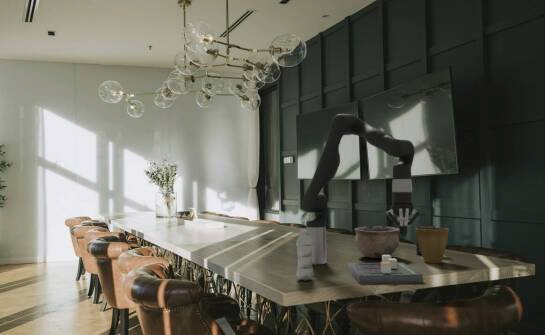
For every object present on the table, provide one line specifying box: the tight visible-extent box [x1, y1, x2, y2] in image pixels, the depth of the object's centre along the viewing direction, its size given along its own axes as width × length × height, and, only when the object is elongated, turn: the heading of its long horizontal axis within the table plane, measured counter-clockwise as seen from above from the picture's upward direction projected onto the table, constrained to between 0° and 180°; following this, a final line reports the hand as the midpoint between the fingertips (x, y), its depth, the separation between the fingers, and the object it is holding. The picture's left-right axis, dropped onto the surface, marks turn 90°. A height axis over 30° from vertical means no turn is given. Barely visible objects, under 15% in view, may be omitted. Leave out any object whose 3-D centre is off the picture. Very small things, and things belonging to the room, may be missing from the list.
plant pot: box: [415, 227, 450, 264], centre depth 227 cm, size 15×15×16 cm
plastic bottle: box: [295, 228, 315, 282], centre depth 188 cm, size 6×7×20 cm
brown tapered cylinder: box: [415, 224, 436, 257], centre depth 250 cm, size 10×10×15 cm
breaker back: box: [381, 255, 392, 262], centre depth 205 cm, size 3×4×3 cm
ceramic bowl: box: [354, 225, 400, 259], centre depth 242 cm, size 22×22×15 cm
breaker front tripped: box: [380, 261, 391, 273], centre depth 185 cm, size 3×4×4 cm
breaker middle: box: [387, 257, 398, 269], centre depth 195 cm, size 3×4×3 cm
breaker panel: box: [347, 262, 424, 284], centre depth 195 cm, size 24×28×3 cm
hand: (403, 235), depth 185 cm, fingers closed
